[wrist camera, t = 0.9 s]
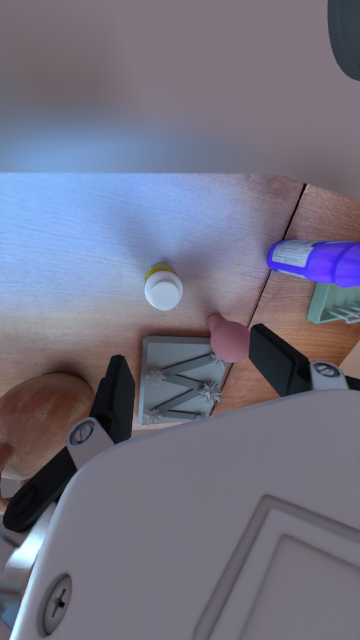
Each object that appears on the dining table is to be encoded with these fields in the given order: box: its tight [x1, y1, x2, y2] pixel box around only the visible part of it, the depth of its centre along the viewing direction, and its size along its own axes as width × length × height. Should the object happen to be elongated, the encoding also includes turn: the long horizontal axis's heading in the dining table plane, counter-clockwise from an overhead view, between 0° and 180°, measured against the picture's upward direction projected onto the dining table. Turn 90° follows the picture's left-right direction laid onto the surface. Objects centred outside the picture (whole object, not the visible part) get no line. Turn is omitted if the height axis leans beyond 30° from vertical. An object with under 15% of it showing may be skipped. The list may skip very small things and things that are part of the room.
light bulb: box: [207, 313, 250, 362], centre depth 31 cm, size 7×7×12 cm
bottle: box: [267, 239, 360, 288], centre depth 24 cm, size 7×6×17 cm
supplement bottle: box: [144, 263, 183, 310], centre depth 25 cm, size 6×6×10 cm
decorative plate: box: [138, 335, 232, 427], centre depth 40 cm, size 30×22×7 cm
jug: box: [0, 372, 95, 514], centre depth 29 cm, size 18×18×20 cm
